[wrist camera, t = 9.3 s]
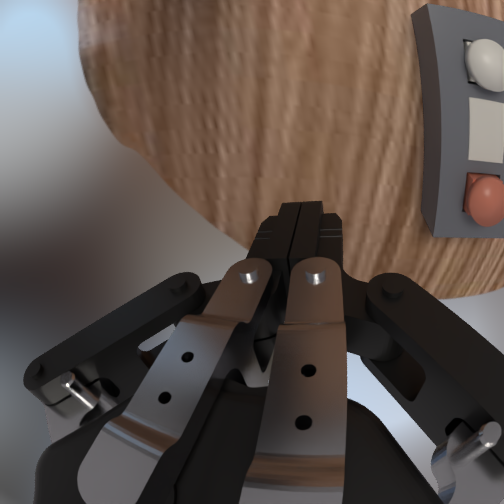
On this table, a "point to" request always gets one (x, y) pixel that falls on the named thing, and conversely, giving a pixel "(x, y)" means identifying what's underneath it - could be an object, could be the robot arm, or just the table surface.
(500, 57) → the white plunger
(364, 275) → the table surface
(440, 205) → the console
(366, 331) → the robot arm
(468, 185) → the red plunger
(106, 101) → the table surface
